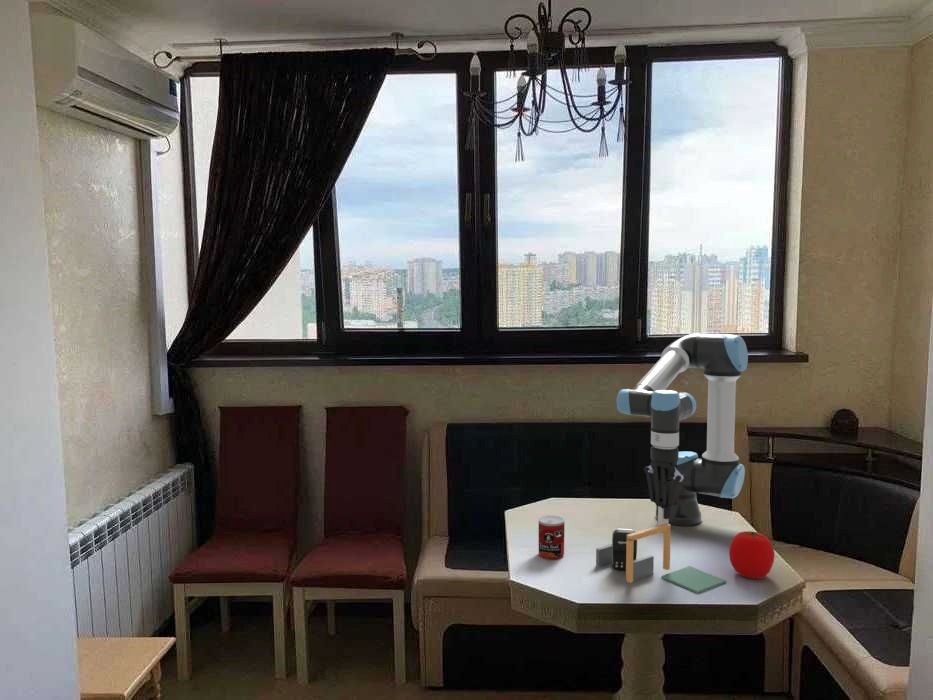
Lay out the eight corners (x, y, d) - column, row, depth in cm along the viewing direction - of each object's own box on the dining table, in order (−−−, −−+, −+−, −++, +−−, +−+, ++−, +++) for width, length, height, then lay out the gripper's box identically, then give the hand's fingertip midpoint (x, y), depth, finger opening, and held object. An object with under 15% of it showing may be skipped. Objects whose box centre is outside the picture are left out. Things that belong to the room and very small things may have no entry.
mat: (689, 568, 197) (689, 566, 197) (726, 582, 187) (726, 580, 187) (661, 577, 190) (661, 575, 190) (697, 593, 180) (697, 591, 180)
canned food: (535, 558, 205) (535, 522, 204) (542, 548, 213) (542, 514, 212) (561, 561, 202) (561, 525, 201) (566, 552, 210) (566, 516, 209)
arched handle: (665, 567, 194) (666, 523, 193) (669, 569, 193) (670, 524, 192) (625, 581, 185) (626, 534, 184) (629, 582, 184) (630, 536, 183)
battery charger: (611, 571, 195) (612, 531, 194) (611, 565, 199) (612, 527, 198) (637, 573, 194) (637, 533, 193) (636, 567, 198) (637, 529, 197)
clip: (618, 558, 205) (618, 542, 204) (653, 573, 193) (653, 556, 193) (596, 565, 200) (596, 548, 199) (631, 581, 188) (631, 563, 188)
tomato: (751, 587, 184) (752, 541, 183) (719, 571, 195) (720, 527, 194) (785, 579, 189) (786, 534, 188) (751, 564, 200) (753, 521, 199)
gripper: (637, 443, 195) (636, 525, 197) (674, 452, 184) (672, 538, 186) (655, 440, 199) (654, 520, 201) (692, 448, 188) (690, 533, 190)
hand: (663, 528), depth 193 cm, fingers closed
